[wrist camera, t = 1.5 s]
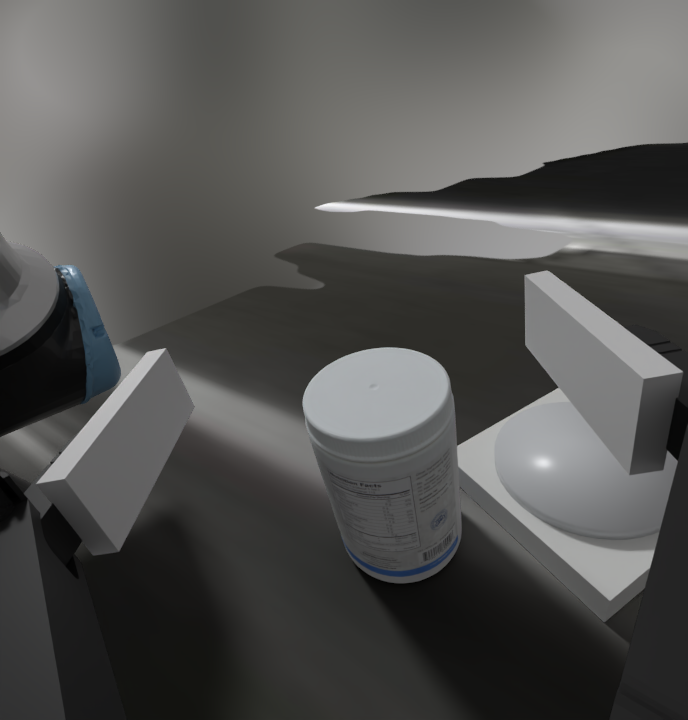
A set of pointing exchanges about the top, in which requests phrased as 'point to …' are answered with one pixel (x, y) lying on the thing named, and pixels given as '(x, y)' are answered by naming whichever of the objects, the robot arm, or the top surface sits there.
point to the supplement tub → (389, 460)
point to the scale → (569, 500)
